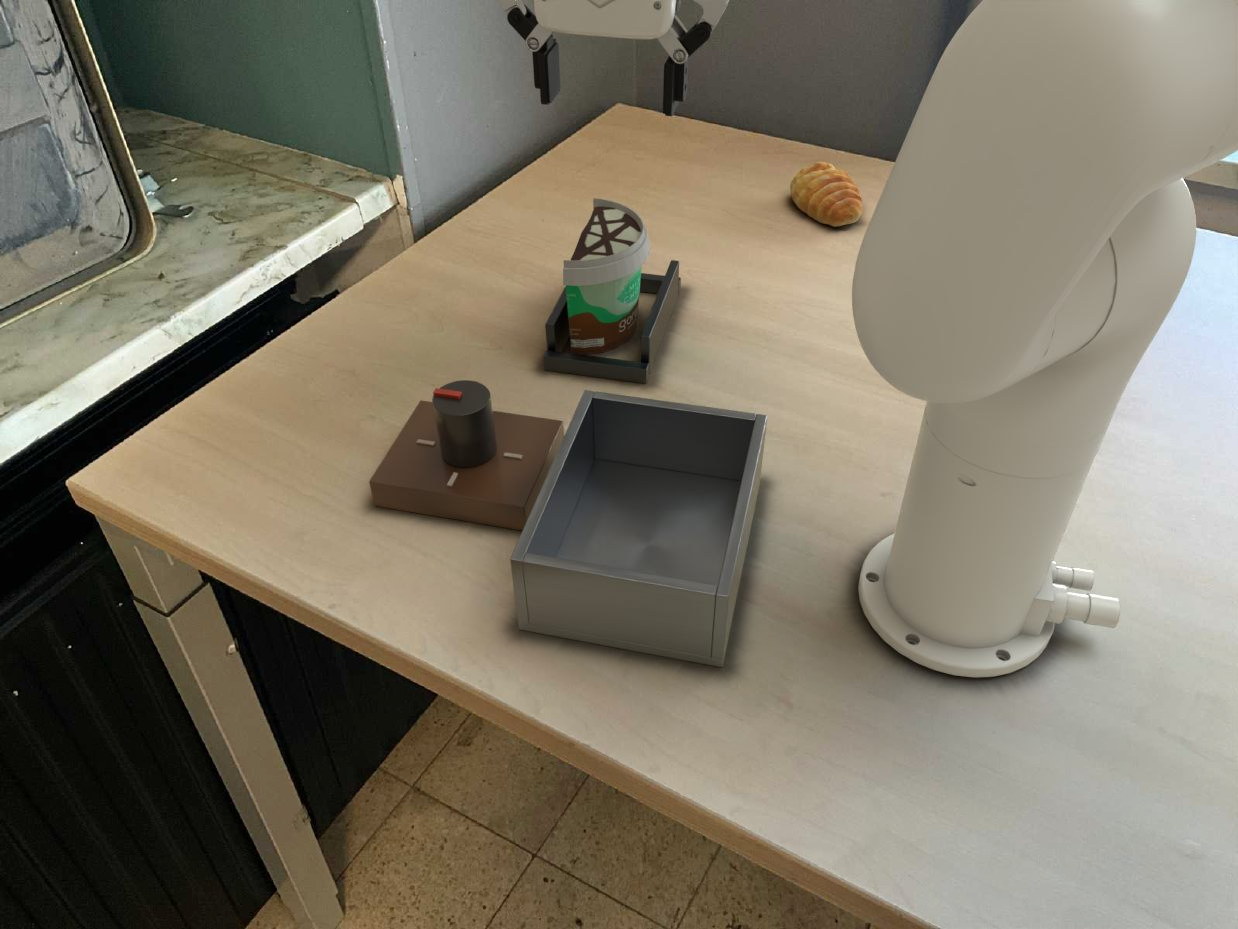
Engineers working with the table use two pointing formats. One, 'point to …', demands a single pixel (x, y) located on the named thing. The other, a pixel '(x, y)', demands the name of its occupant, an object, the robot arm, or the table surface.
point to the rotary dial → (468, 471)
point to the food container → (605, 278)
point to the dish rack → (608, 367)
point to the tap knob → (465, 423)
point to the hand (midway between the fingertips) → (610, 103)
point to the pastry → (827, 194)
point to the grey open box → (642, 527)
